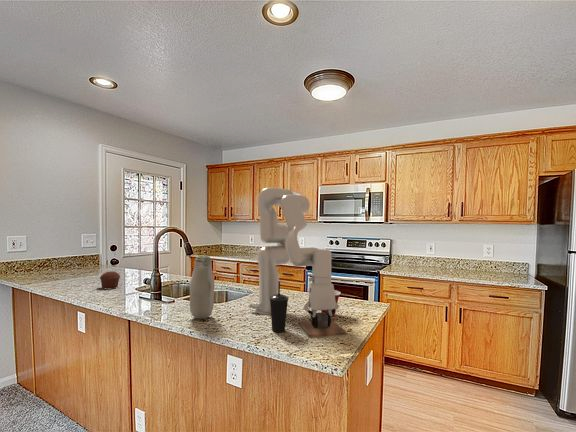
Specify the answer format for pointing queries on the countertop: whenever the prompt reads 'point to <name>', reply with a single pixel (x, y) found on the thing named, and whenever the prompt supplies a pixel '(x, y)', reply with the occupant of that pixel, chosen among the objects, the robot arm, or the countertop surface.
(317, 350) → the countertop surface
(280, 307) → the drinking cup
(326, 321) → the lid
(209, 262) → the gray bottle
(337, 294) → the plastic cup
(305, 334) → the mat
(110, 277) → the muffin
